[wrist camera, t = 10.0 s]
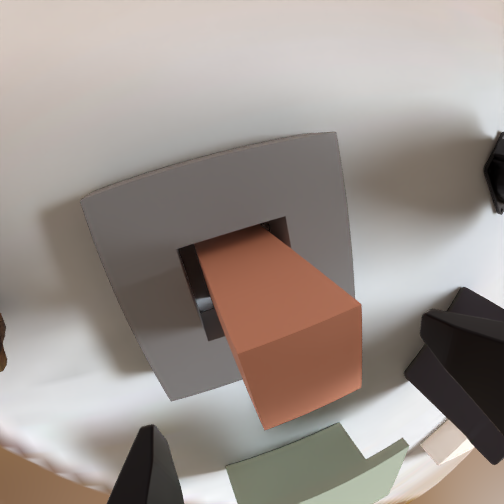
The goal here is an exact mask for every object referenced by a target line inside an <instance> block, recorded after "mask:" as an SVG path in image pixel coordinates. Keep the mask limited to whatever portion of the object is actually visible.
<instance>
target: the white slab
mask: <svg viewBox="0 0 504 504" xmlns="http://www.w3.org/2000/svg"><path fill="white" fill-rule="evenodd" d="M420 446H421V447H422V448H423V449H424V450H425V451H426V452H427V454H428V455H429V456H430V457H431V458H432V459H433V460H434V461H435V463H436V464H437V465H440V464H442V463H445V462H447V461H449V460H451V459H453V458H455V457H457V456H459V455H461V454H463V453H465V452H467V451H469V450H471V449H472V448H474V446H473V445H472V444H471V443H470V441H469V440H468V439H467V437H466V436H465V435H464V434H463V433H462V432H461V431H460V430H459V429H458V428H457V427H456V426H455V425H454V424H453V423H452V422H451V421H450V420H449V419H448V420H447V421H446V422H445V423H444V424H443V425H442V426H440V427H439V428H438V429H437V430H436V431H435V432H434V433H433V434H432V435H431V436H429V437H428V438H427V439H426V440H425V441H424V442H423V443H421V444H420Z"/></svg>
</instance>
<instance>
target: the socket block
mask: <svg viewBox="0 0 504 504" xmlns="http://www.w3.org/2000/svg"><path fill="white" fill-rule="evenodd" d="M80 203H81V206H82V209H83V212H84V215H85V218H86V221H87V224H88V227H89V230H90V232H91V235H92V238H93V241H94V243H95V246H96V249H97V251H98V254H99V257H100V259H101V262H102V264H103V267H104V269H105V272H106V274H107V276H108V279H109V281H110V284H111V286H112V288H113V291H114V293H115V295H116V297H117V300H118V302H119V304H120V306H121V308H122V311H123V313H124V315H125V317H126V319H127V321H128V323H129V325H130V327H131V329H132V331H133V334H134V336H135V338H136V339H137V341H138V343H139V345H140V347H141V349H142V351H143V353H144V355H145V357H146V359H147V361H148V362H149V364H150V366H151V368H152V370H153V371H154V373H155V375H156V377H157V379H158V380H159V382H160V384H161V386H162V387H163V389H164V391H165V392H166V394H167V396H168V397H169V399H170V401H174V400H178V399H182V398H185V397H189V396H192V395H196V394H199V393H202V392H205V391H209V390H212V389H215V388H218V387H221V386H224V385H227V384H230V383H233V382H236V381H239V380H242V376H241V374H240V371H239V369H238V367H237V364H236V362H235V359H234V357H233V354H232V352H231V349H230V347H229V344H228V342H227V339H226V337H225V334H224V331H223V329H222V326H221V324H220V321H219V318H218V316H217V313H216V310H215V309H211V310H208V311H205V312H202V313H200V311H199V308H198V306H197V303H196V300H195V297H194V294H193V291H192V288H191V286H190V283H189V280H188V277H187V274H186V271H185V268H184V265H183V262H182V259H181V255H180V252H179V248H182V247H185V246H188V245H191V244H195V243H198V242H201V241H204V240H208V239H211V238H214V237H217V236H220V235H224V234H227V233H230V232H234V231H237V230H240V229H244V228H247V227H250V226H253V225H257V224H260V223H264V222H267V221H268V223H269V228H270V232H271V234H273V235H274V236H275V237H277V238H278V239H279V240H281V241H282V242H283V243H284V244H286V245H287V246H288V247H290V248H291V249H292V250H293V251H295V252H296V253H297V254H299V255H300V256H301V257H302V258H304V259H305V260H306V261H308V262H309V263H310V264H311V265H313V266H314V267H315V268H316V269H318V270H319V271H320V272H322V273H323V274H324V275H325V276H327V277H328V278H329V279H330V280H332V281H333V282H334V283H335V284H337V285H338V286H339V287H340V288H342V289H343V290H344V291H345V292H347V293H348V294H349V295H350V296H352V297H353V298H354V299H355V289H354V273H353V259H352V247H351V237H350V227H349V217H348V209H347V201H346V193H345V185H344V178H343V171H342V165H341V158H340V152H339V146H338V140H337V135H336V132H323V133H307V134H302V135H296V136H291V137H286V138H281V139H276V140H271V141H266V142H261V143H257V144H252V145H248V146H243V147H239V148H235V149H231V150H227V151H223V152H219V153H215V154H211V155H207V156H203V157H199V158H196V159H192V160H188V161H185V162H181V163H178V164H174V165H171V166H168V167H164V168H161V169H158V170H155V171H151V172H148V173H145V174H142V175H139V176H136V177H133V178H130V179H127V180H124V181H121V182H118V183H115V184H112V185H110V186H107V187H104V188H101V189H98V190H96V191H94V192H92V193H90V194H89V195H87V196H86V197H84V198H83V199H81V200H80Z"/></svg>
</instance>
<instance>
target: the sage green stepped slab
mask: <svg viewBox="0 0 504 504" xmlns="http://www.w3.org/2000/svg"><path fill="white" fill-rule="evenodd" d="M408 448H409V445H408V444H407V442H406V441H405V440H404V439H403V438H401V439H400V440H398V441H397V442H395V443H393V444H392V445H390V446H388V447H387V448H385V449H383V450H382V451H380V452H378V453H377V454H375V455H373V456H371V457H370V458H368V459H365V458H364V456H363V455H362V453H361V452H360V451H359V449H358V448H357V446H356V445H355V444H354V442H353V441H352V439H351V438H350V437H349V435H348V434H347V432H346V431H345V429H344V428H343V427H342V425H341V424H340V422H339V423H337V424H334V425H332V426H330V427H328V428H326V429H324V430H322V431H319V432H317V433H315V434H313V435H310V436H308V437H306V438H303V439H301V440H299V441H296V442H294V443H291V444H289V445H286V446H284V447H281V448H278V449H276V450H273V451H270V452H268V453H265V454H262V455H259V456H256V457H253V458H250V459H247V460H244V461H241V462H238V463H234V464H231V465H228V466H225V467H226V470H227V473H228V476H229V479H230V482H231V485H232V488H233V491H234V494H235V497H236V500H237V503H238V504H373V503H375V502H377V501H379V500H380V499H382V498H384V497H385V496H387V495H388V494H389V492H390V490H391V488H392V486H393V484H394V481H395V479H396V477H397V475H398V472H399V470H400V468H401V465H402V463H403V461H404V458H405V456H406V453H407V450H408Z"/></svg>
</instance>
